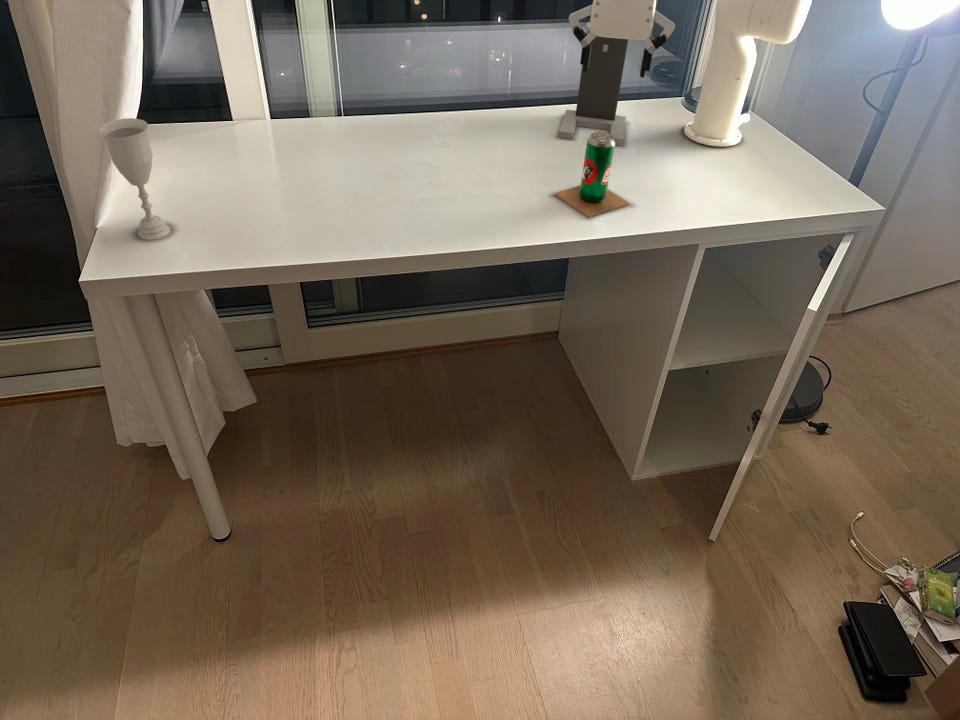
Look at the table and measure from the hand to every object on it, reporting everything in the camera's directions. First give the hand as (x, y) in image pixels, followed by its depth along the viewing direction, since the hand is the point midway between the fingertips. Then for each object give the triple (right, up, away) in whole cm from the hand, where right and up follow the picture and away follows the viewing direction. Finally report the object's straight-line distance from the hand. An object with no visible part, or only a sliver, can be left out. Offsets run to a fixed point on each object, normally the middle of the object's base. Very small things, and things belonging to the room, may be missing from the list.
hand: (613, 71), depth 121 cm
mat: (-2, -19, +13) cm, 23 cm away
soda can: (-2, -19, +13) cm, 23 cm away
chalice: (-78, -28, -2) cm, 83 cm away
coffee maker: (+3, +3, +39) cm, 40 cm away
